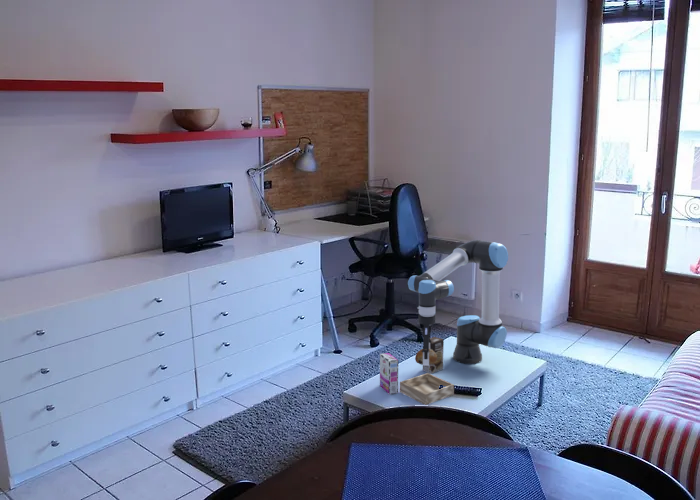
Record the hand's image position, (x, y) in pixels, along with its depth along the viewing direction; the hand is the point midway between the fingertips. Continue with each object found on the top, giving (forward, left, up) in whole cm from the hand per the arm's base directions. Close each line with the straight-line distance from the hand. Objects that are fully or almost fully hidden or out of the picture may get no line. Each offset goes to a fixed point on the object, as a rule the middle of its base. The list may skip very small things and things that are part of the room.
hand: (426, 360), depth 283 cm
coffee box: (-22, -19, -16) cm, 33 cm away
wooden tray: (0, 0, -16) cm, 16 cm away
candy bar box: (+11, -14, -16) cm, 24 cm away
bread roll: (0, 0, -1) cm, 1 cm away
